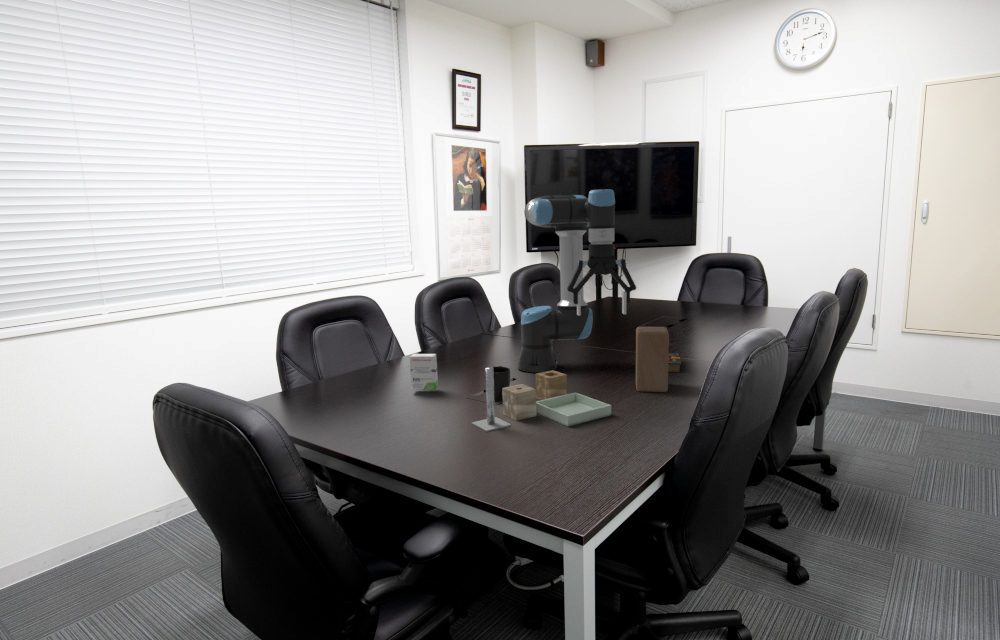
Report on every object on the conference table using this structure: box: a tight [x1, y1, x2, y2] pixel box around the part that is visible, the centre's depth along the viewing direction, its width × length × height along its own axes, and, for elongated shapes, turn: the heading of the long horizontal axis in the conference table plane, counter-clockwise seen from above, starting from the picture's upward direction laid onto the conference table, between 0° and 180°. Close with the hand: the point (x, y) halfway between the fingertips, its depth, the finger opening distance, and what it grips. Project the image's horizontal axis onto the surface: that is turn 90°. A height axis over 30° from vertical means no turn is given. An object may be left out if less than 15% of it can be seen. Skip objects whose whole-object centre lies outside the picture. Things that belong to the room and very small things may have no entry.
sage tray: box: [536, 392, 612, 428], centre depth 174 cm, size 16×16×3 cm
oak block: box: [535, 370, 568, 401], centre depth 188 cm, size 7×7×8 cm
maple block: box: [502, 383, 537, 422], centre depth 173 cm, size 7×7×8 cm
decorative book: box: [668, 353, 682, 373], centre depth 221 cm, size 11×16×5 cm
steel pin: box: [484, 366, 496, 425], centre depth 165 cm, size 2×2×16 cm
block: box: [635, 326, 670, 393], centre depth 195 cm, size 10×10×20 cm
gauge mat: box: [471, 416, 512, 433], centre depth 166 cm, size 8×8×1 cm
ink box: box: [409, 353, 439, 391], centre depth 204 cm, size 9×5×12 cm, turn 85°
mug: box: [483, 365, 511, 402], centre depth 192 cm, size 8×12×10 cm
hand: (601, 314), depth 179 cm, fingers open, 13 cm apart
